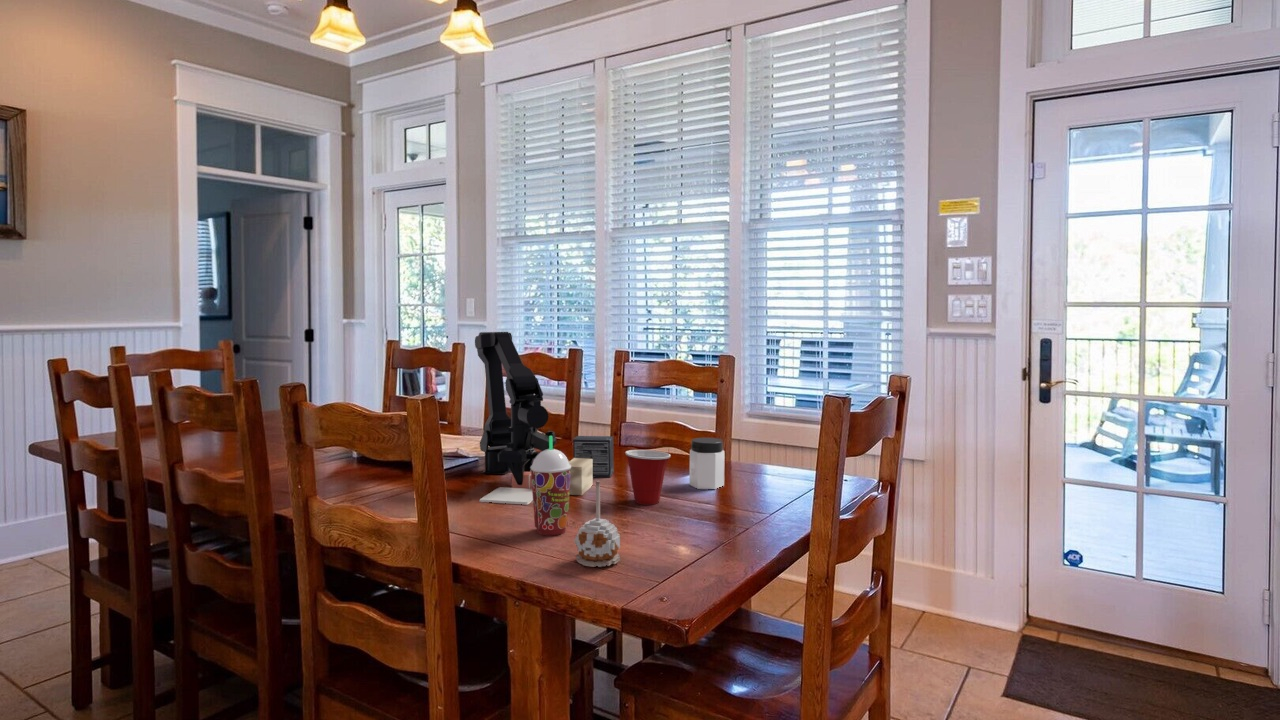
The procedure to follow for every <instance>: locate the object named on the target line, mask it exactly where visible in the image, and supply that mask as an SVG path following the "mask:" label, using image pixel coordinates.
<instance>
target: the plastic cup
mask: <svg viewBox="0 0 1280 720" xmlns="http://www.w3.org/2000/svg"><path fill="white" fill-rule="evenodd" d="M625 456H626V457H627V463H628V466H629V467H628V468H629V473H630V474H629V475H630V482H631V487H632V493H633V498H634V501H635V503H636V504H639V505H645V506H647V505H655V504H658V503H659V501H660V500H661V493H662V489H663V484H664V479H665V472H666V468H667V464H668V461H669V459H670V458H671V454H670V453H668V452H664V451H659V450H651V449H630V450H626V451H625Z"/></svg>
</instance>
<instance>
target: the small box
mask: <svg viewBox="0 0 1280 720" xmlns="http://www.w3.org/2000/svg"><path fill="white" fill-rule="evenodd" d="M572 445H573V446H572V447H573V451H572V452H573V454H572V455H573V456H572V457H573V458H585V459H593V478H611V477H612V475H613V474H614V436H608V435H605V436H603V435H577V436H575V437H574V438H573V439H572ZM573 458H572V459H573Z"/></svg>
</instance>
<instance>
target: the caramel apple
mask: <svg viewBox="0 0 1280 720" xmlns="http://www.w3.org/2000/svg"><path fill="white" fill-rule="evenodd" d="M574 545H575V546H576V547H577V551H578V554H576V555H575V556H576V557H575V558H576V559H575V561H577V562H578V564H581V565H582V566H586V567H591V568H594V567H596V566H598V567H597V568H602V567H606V565H607V566H608V567H610V566H611V565H616V564H617V563H618V562H620V561H621V554H619V553H618V550H619V549H621V534H620V533H619V532H618V527H616V526H615V524H612V523H611V522H610V520H607V519H605V518H601V481H600V480H596V481H595V518H593V519H590V520H588V521H586V522H585V523H584V524H583V525H582V526H581V527H580V528H578V533H576V537H574Z"/></svg>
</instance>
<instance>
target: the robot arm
mask: <svg viewBox="0 0 1280 720" xmlns="http://www.w3.org/2000/svg"><path fill="white" fill-rule="evenodd" d="M474 347H475V349H476V351H477V356H478V357H479V359H480V360H481V361H482V363H483V364H484V371H485V372H484V373H485V382H486V383H485V384H486V394H487V404H488V418H487V420H486V422H485V423H484V430H483V433H482V435H481V438H480V441H479V448H480V451H482V452H483V453H484V470H483V471H482V474H487V475H488V474H489V475H491V474H492V475H506V474H507V473H510V472H511V475H512V474H513V476H514V478H515V480H516V482H517V484H518V485H522V482H523V475H524V471H525V472H531V468H530V467H531V465H533V462H534V460H535V458H536V456H537V455H538V454H539V453H540V452H542V451H544V450H546V449H549V436H552V446H553V449H555V445H556V444H557V437H556V432H555V431H552V430H548V431H547V432H546V433H545V432H540V431H538V429H541V428H543V427H544V426H545V425H546V424H547V423H548V420H549V413H548V410H547V408H546V407H545V406H543V405H542V402H543V401H544V398H543V396H544V392H543V390H542V387H541V385H540V383H539V379H538V378H537V377H536V375H535V373H534V372H533V370H532V369H531V368H529V367H528V366H525V364H524V363H523V361H522V359H521V357H520V354H519V353H518V351H517V348H516V346H515V344H514V342H513V335H512V333H511V332H510V331H488V332H487V331H486V332H485V331H481V332H479V333H478V335H477V336H475V337H474ZM503 368H504V369H503ZM503 370H504V371H505V373H506V374H505V375H506V377H505V378H506V380H505V383H504V374H503ZM504 384H505V386H504ZM505 390H506V391H505ZM505 392H506V393H507V395H508V397H509V404H510V416H509V415H508V413H507V406H506V404H507V403H506V397H505V396H506V393H505ZM536 450H539V451H540V452H539V451H536Z"/></svg>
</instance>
